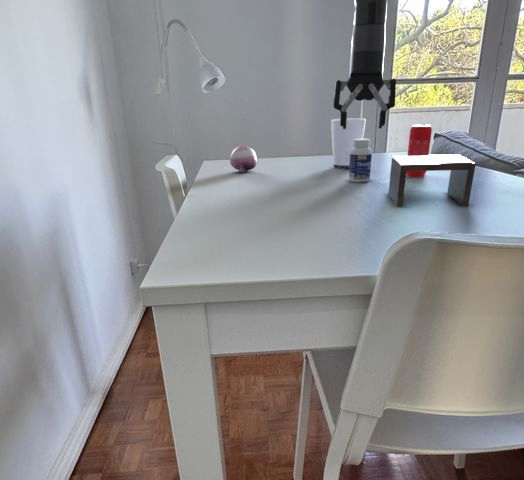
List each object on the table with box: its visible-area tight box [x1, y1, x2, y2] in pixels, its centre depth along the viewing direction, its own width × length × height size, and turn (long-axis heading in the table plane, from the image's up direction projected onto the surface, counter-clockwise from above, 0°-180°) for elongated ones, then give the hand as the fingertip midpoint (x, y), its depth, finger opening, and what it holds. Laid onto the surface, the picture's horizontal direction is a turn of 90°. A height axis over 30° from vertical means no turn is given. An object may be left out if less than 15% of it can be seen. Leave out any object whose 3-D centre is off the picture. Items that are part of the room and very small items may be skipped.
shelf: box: [388, 154, 477, 208], centre depth 98 cm, size 14×12×8 cm
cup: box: [330, 117, 367, 170], centre depth 137 cm, size 10×10×13 cm
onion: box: [229, 144, 258, 173], centre depth 137 cm, size 8×8×7 cm
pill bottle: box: [348, 137, 373, 183], centre depth 118 cm, size 5×5×10 cm
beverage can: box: [406, 124, 433, 178], centre depth 120 cm, size 5×5×12 cm
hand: (362, 128), depth 114 cm, fingers open, 8 cm apart
